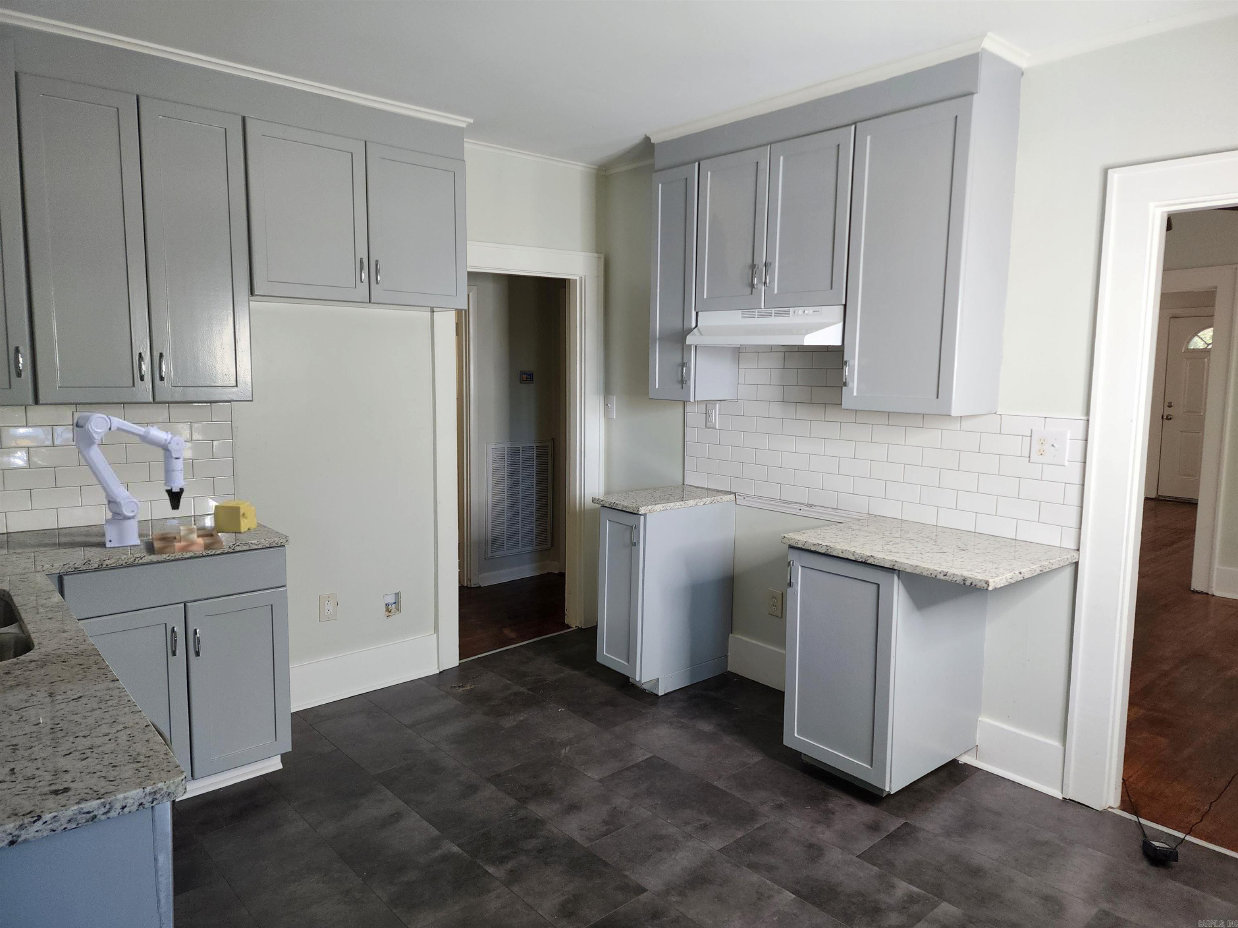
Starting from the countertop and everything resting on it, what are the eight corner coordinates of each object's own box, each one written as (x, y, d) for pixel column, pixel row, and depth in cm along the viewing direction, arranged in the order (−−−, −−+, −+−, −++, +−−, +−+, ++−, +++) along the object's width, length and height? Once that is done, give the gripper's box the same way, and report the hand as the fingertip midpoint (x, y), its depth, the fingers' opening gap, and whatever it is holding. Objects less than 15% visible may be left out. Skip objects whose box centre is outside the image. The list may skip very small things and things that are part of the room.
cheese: (257, 528, 298) (256, 500, 297) (241, 533, 288) (240, 505, 286) (230, 526, 299) (229, 499, 298) (213, 532, 289) (212, 504, 287)
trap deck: (155, 554, 253) (155, 546, 253) (152, 541, 272) (151, 534, 272) (223, 548, 263) (222, 541, 263) (215, 536, 282) (215, 529, 282)
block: (181, 542, 259) (180, 528, 259) (180, 540, 263) (179, 526, 262) (197, 541, 261) (196, 527, 261) (195, 539, 265) (195, 525, 265)
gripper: (188, 472, 273) (190, 512, 275) (185, 467, 286) (186, 505, 287) (164, 473, 270) (166, 513, 271) (162, 468, 282) (163, 507, 283)
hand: (175, 509), depth 279 cm, fingers closed
